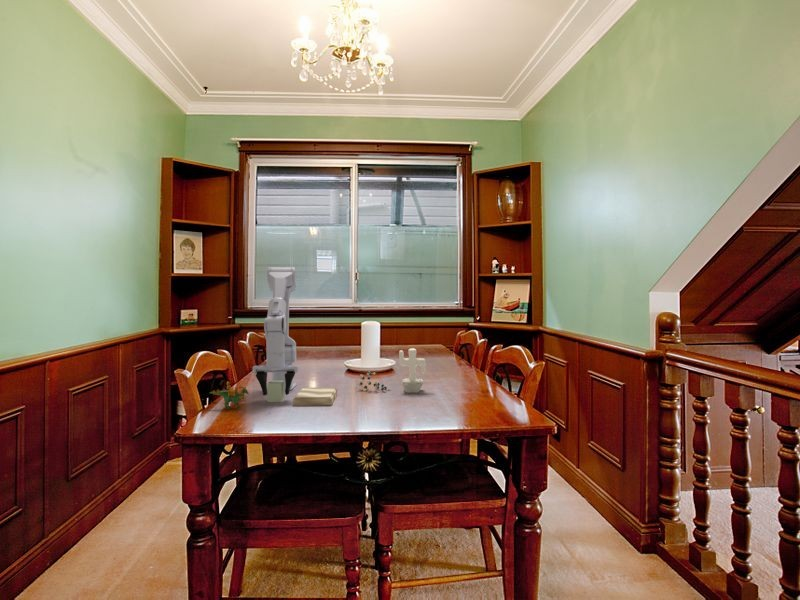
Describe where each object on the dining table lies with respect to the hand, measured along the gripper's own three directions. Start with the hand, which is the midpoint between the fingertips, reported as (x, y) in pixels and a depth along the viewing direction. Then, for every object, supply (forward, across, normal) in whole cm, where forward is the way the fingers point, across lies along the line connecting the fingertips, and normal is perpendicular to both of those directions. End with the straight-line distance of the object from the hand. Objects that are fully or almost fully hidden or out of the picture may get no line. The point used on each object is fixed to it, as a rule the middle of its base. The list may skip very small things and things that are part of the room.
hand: (276, 394), depth 148 cm
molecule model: (+2, +31, +12) cm, 34 cm away
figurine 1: (+2, -12, -9) cm, 15 cm away
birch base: (+2, +13, 0) cm, 13 cm away
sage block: (+2, 0, 0) cm, 2 cm away
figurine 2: (+2, +45, +11) cm, 46 cm away
